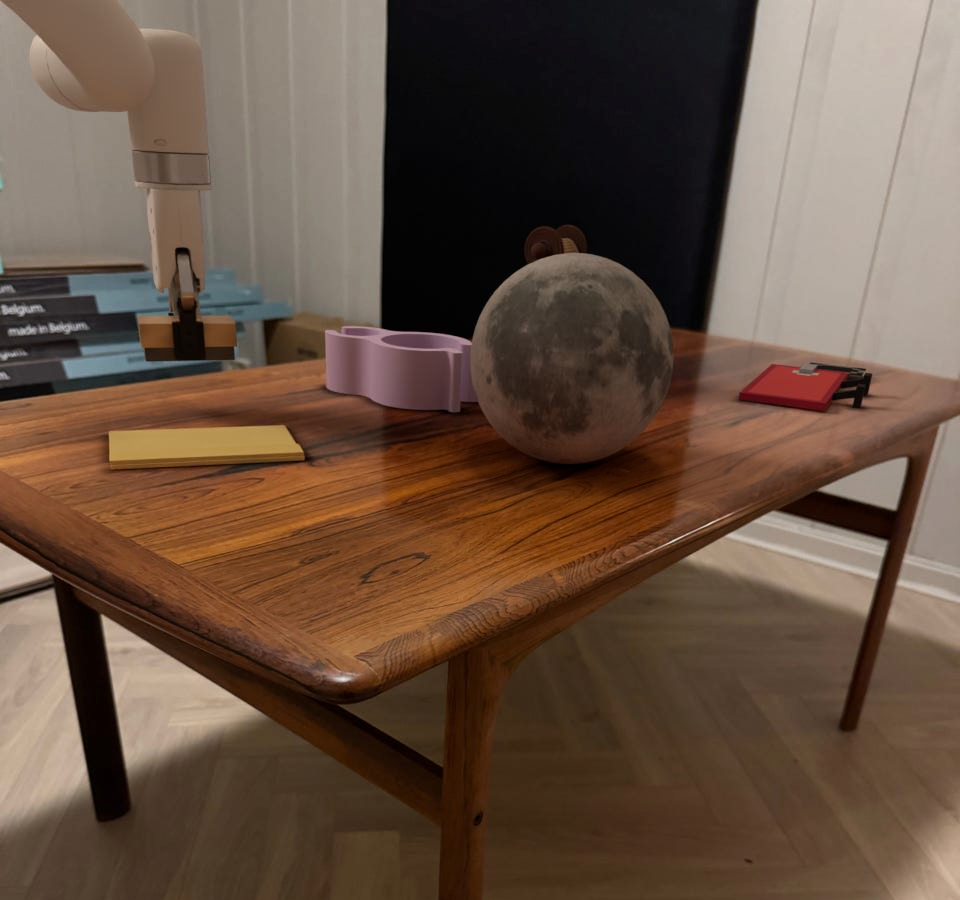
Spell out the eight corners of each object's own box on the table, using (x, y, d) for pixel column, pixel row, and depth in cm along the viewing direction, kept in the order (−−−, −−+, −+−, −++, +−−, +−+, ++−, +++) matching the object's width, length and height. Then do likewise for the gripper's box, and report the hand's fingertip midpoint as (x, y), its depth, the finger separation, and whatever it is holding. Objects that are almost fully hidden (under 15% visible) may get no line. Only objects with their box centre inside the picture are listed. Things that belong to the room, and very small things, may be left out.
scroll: (568, 400, 123) (584, 232, 114) (471, 381, 130) (479, 222, 121) (615, 382, 135) (633, 228, 126) (524, 366, 141) (535, 219, 132)
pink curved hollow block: (307, 391, 120) (305, 334, 117) (360, 375, 130) (360, 322, 127) (447, 416, 112) (450, 356, 109) (493, 397, 122) (496, 341, 119)
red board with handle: (878, 376, 147) (779, 365, 153) (882, 357, 146) (782, 347, 152) (853, 418, 123) (738, 402, 129) (858, 396, 122) (741, 381, 128)
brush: (143, 362, 102) (138, 323, 100) (141, 353, 106) (137, 315, 105) (238, 360, 105) (235, 323, 104) (232, 351, 110) (230, 315, 108)
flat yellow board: (110, 469, 88) (109, 461, 88) (109, 435, 98) (108, 427, 98) (304, 460, 94) (304, 452, 94) (284, 428, 104) (284, 421, 104)
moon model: (447, 434, 105) (455, 239, 96) (617, 432, 110) (639, 246, 101) (491, 493, 88) (506, 262, 79) (690, 488, 93) (725, 269, 84)
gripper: (131, 167, 103) (149, 340, 112) (136, 174, 89) (157, 372, 98) (202, 171, 106) (215, 340, 114) (219, 178, 92) (232, 370, 100)
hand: (188, 352), depth 106 cm, fingers closed on brush, 5 cm apart
